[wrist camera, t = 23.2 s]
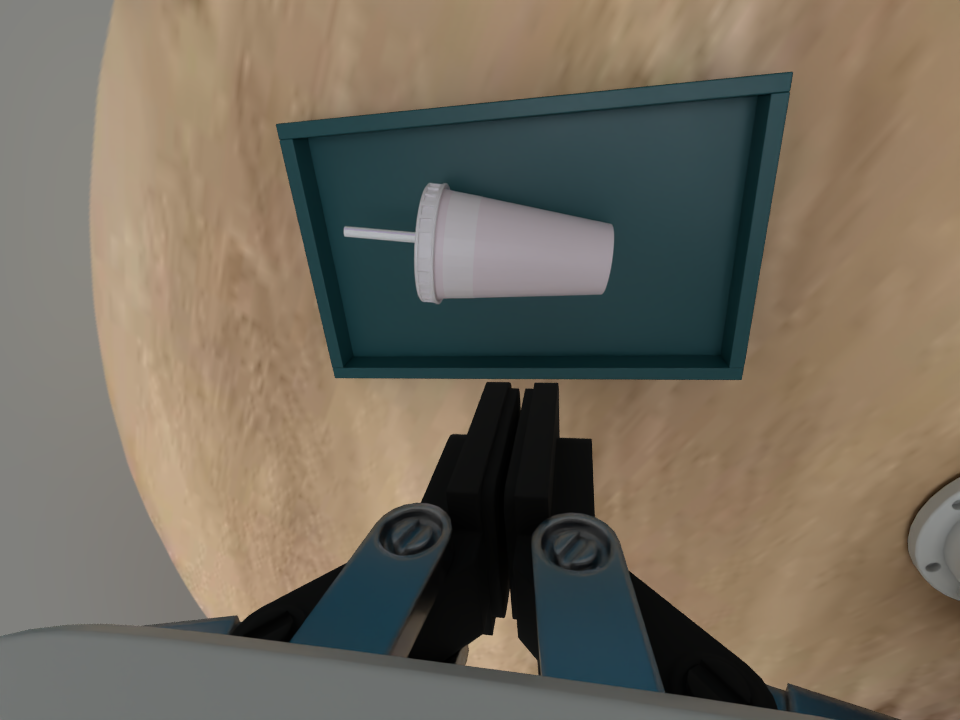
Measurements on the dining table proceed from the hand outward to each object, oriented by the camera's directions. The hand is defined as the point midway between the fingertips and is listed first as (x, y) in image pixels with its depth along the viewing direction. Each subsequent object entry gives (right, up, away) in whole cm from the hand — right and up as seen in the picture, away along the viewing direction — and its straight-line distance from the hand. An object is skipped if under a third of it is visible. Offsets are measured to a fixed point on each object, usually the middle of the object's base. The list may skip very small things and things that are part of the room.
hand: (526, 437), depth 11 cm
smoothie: (+6, +7, +14) cm, 17 cm away
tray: (+1, +9, +18) cm, 20 cm away
